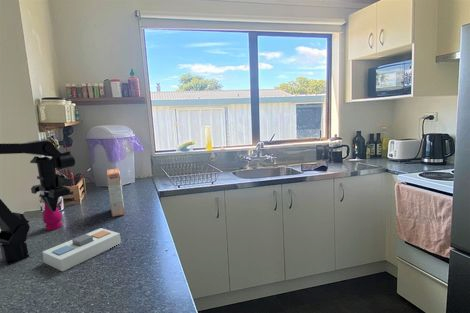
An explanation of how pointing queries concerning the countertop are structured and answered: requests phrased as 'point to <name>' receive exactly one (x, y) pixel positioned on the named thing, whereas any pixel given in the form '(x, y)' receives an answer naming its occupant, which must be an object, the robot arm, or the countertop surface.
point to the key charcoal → (82, 240)
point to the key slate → (62, 250)
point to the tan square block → (100, 234)
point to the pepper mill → (52, 218)
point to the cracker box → (115, 192)
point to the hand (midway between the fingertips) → (53, 211)
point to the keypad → (81, 250)
